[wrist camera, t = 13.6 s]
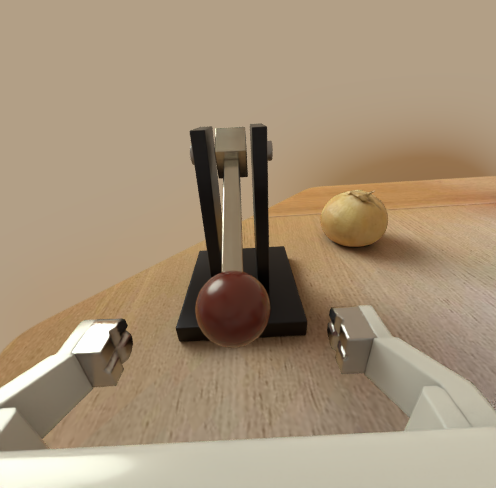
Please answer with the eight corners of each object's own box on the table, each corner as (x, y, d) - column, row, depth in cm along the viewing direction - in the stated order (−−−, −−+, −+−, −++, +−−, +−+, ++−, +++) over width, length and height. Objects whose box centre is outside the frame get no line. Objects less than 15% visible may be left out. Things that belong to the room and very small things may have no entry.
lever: (272, 352, 13) (276, 334, 10) (200, 356, 13) (183, 339, 10) (254, 159, 21) (254, 118, 18) (212, 162, 21) (204, 121, 18)
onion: (306, 239, 34) (309, 188, 30) (339, 222, 38) (345, 175, 35) (363, 262, 28) (374, 201, 25) (394, 239, 33) (407, 185, 29)
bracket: (306, 335, 20) (322, 127, 13) (178, 342, 20) (126, 138, 13) (284, 256, 30) (286, 120, 23) (201, 261, 30) (179, 126, 23)
